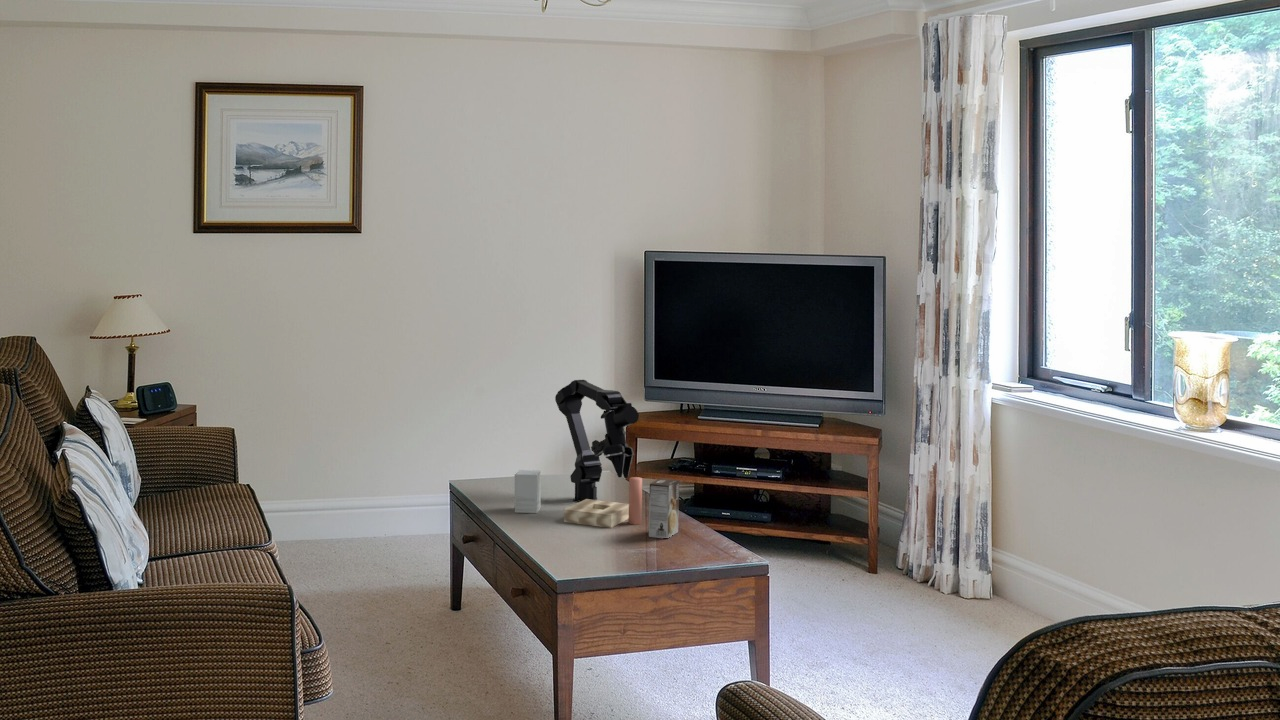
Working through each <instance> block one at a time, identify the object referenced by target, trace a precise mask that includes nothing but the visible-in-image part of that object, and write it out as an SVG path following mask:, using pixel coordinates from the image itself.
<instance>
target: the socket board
mask: <svg viewBox="0 0 1280 720" xmlns="http://www.w3.org/2000/svg"><path fill="white" fill-rule="evenodd" d="M628 519H629V503H626V502H625V503H624V502H623V503H622V502H615V501H606V500H598V499H596V500H591V499H585V500H583V501H578V502H577V503H574V504H573V505H570V506H568V507H566V508H563V522H564V523H569V524H577V525H585V526H594V527H601V528H609V529H612V528H614V527H616V526H618V525H619V524H621V523H623V522H625V521H626V520H628Z"/></svg>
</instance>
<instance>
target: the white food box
mask: <svg viewBox="0 0 1280 720" xmlns="http://www.w3.org/2000/svg"><path fill="white" fill-rule="evenodd" d="M648 495H649V498H648V499H649V501H648V504H649V505H648V506H649V507H648V511H649V512H648V537H649V538H655V539H656V538H657V539H663V538H669V537H670V538H672V537H673V536H674V535H676V534H677V533H678V532H679V515H680V513H679V511H680V510H679V507H680V501H679V500H680V479H669V478H657V480H655V481H653V482H651V483H649V494H648ZM672 535H673V536H672ZM670 538H669V539H670Z"/></svg>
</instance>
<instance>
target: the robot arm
mask: <svg viewBox="0 0 1280 720" xmlns="http://www.w3.org/2000/svg"><path fill="white" fill-rule="evenodd" d="M585 397H586V398H588V399H590V400H592V401H594V402H595V405H596V406H597V407H599V409H601V410H603V411H602V414H601V415H600V419H601V420H602V419H604V424H605V430H606V431H605V432H606V433H605V435H604V439H603V440H600V441H599V440H597V439H594V440H593V441H592V442H591V445H590V443H589V439H588V435H587V433H586V429H585V426H584V422H583V419H582V415H581V409H582V407H583V401H582V400H583V399H584V398H585ZM554 399H555V402H556V405H557V408H558V410H559V412H561V414H563V415H564V416H565V418H566V422H567V425H568V428H569V432H570V436H571V440H572V443H573V445H574V446H573V447H574V450H575V454H576V459H575V461H574V468H575V469H574V470H573V471H572V473H571V474H570V477H569V478H570V482H571V483H573V484H574V498H572V501H575V502H581V501H583V500H585V499H591V500H598V497H597V493H598V492H597V491H598V490H597V489H598V487H597V484H596V483H599V482H600V481H601V476H602V474H603V473H602V471H603V468H602V463H601V460H600V456H602V455H603V456H605V458H606V459H607V460H609V461H610V462H611V463H612V466H613V468H614V470H615V473H616V476H617V478H622V477H623V478H624V479H628V477H629V474H630V470H631V466H632V462H633V458H634V455H635V453H634V449H633V448H632V447H631V446H629V443H627V439H626V435H627V431H625V427H628V426H631V425H634V424H636V423H637V422H638V421H639V419H640V418H639V415H640V414H639V412H638V410H637V409H636V407H634V406H632V405H633V403H631V402H627V401H626V400H625V399H624V397H623V395H622V393H621V392H620V391H618V390H613V389H612V390H611V389H604V388H602V387H599V386H597V385H594V383H590V382H588V381H587V380H585V379H574V380H572V381H571V382H569V383H568V384H567V385H565V386H564V387H562V388H561V389H560V390H558V392H557V393H556V394H555V397H554Z"/></svg>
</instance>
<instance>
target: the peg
mask: <svg viewBox="0 0 1280 720" xmlns="http://www.w3.org/2000/svg"><path fill="white" fill-rule="evenodd" d="M628 480H629V481H628V483H629V484H628V485H629V486H628V504H629V518H628V519H627V520H628V521H627V522H628V524H629V525H634V526H635V525H636V526H637V525H641V524H642V509H643V508H642V506H643V478H642V477H640V476H638V477H637V476H635V477H634V476H631V477H629V479H628Z"/></svg>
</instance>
